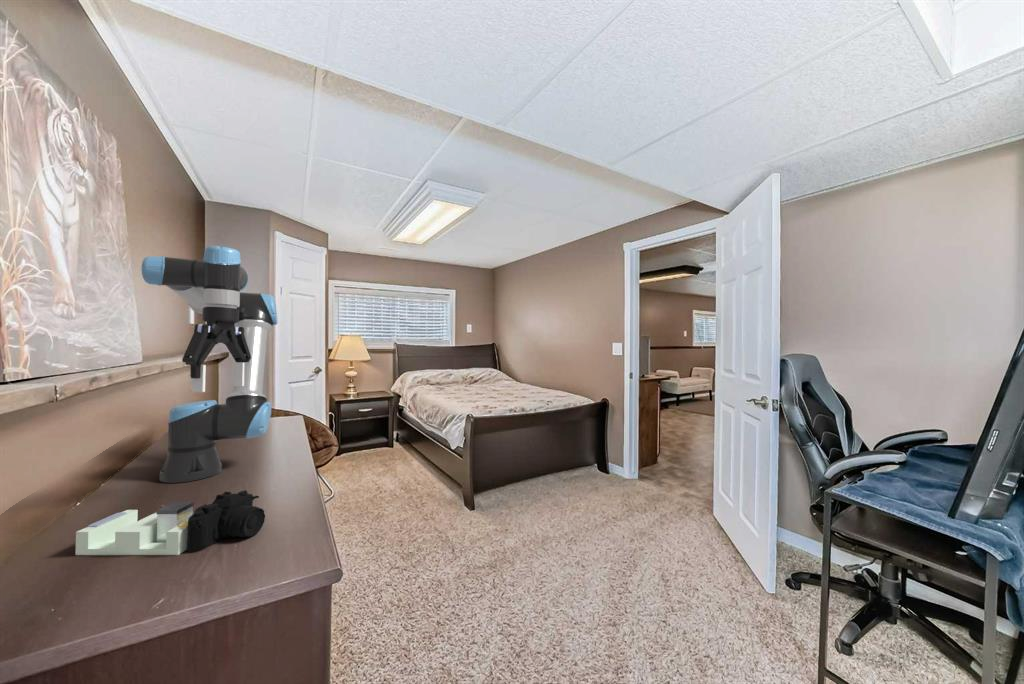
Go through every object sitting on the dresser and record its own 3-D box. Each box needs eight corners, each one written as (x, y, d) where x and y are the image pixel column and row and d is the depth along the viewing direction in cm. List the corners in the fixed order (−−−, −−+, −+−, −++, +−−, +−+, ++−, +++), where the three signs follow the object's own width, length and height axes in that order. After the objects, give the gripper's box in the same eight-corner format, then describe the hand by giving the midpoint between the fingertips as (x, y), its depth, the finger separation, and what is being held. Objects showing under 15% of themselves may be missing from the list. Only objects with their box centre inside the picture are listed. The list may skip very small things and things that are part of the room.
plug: (173, 534, 81) (174, 501, 81) (193, 534, 81) (193, 502, 82) (155, 544, 77) (156, 510, 77) (176, 544, 77) (177, 510, 77)
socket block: (126, 530, 84) (126, 508, 84) (216, 530, 84) (217, 508, 84) (75, 555, 74) (76, 530, 74) (178, 555, 74) (178, 530, 74)
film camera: (220, 557, 74) (221, 512, 74) (178, 552, 75) (180, 508, 76) (278, 522, 89) (279, 484, 89) (243, 518, 90) (244, 481, 90)
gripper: (240, 311, 109) (238, 383, 109) (163, 301, 84) (160, 394, 84) (266, 311, 109) (264, 383, 109) (196, 301, 84) (194, 395, 84)
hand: (219, 388), depth 96 cm, fingers open, 13 cm apart
